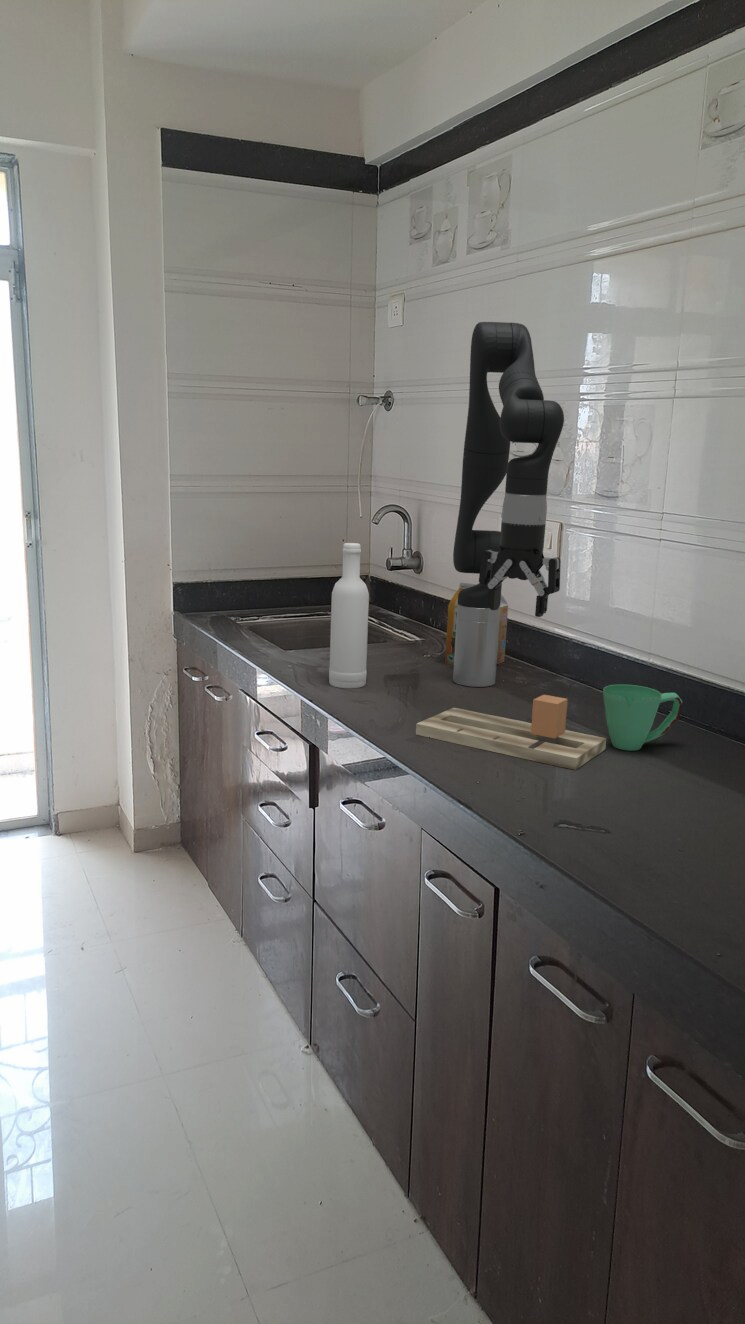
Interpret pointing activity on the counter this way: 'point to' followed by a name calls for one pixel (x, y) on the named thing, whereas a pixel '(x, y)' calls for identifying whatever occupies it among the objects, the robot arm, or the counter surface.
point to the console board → (510, 738)
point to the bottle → (349, 624)
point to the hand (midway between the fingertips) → (516, 612)
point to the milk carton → (453, 619)
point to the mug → (636, 714)
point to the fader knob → (549, 718)
